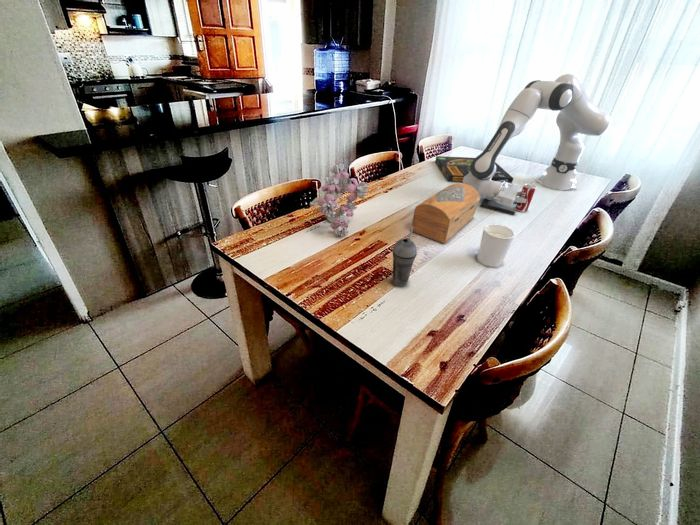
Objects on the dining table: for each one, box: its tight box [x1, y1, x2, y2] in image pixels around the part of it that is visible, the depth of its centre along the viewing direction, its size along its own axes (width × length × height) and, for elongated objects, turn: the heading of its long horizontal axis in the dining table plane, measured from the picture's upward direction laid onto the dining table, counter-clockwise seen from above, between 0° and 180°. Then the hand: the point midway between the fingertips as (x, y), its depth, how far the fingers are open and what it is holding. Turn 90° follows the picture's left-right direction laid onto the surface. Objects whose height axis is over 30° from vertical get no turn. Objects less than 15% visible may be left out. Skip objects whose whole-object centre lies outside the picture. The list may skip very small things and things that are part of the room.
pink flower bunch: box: [309, 162, 372, 239], centre depth 126 cm, size 20×22×25 cm
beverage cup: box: [392, 225, 418, 288], centre depth 97 cm, size 7×7×20 cm
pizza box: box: [434, 155, 514, 184], centre depth 193 cm, size 35×35×4 cm
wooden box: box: [411, 182, 481, 244], centre depth 133 cm, size 30×16×14 cm, turn 140°
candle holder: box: [476, 223, 516, 268], centre depth 112 cm, size 10×10×12 cm
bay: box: [479, 198, 517, 216], centre depth 155 cm, size 16×15×1 cm
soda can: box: [515, 183, 536, 213], centre depth 148 cm, size 5×5×12 cm
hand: (527, 198), depth 148 cm, fingers closed on soda can, 5 cm apart
